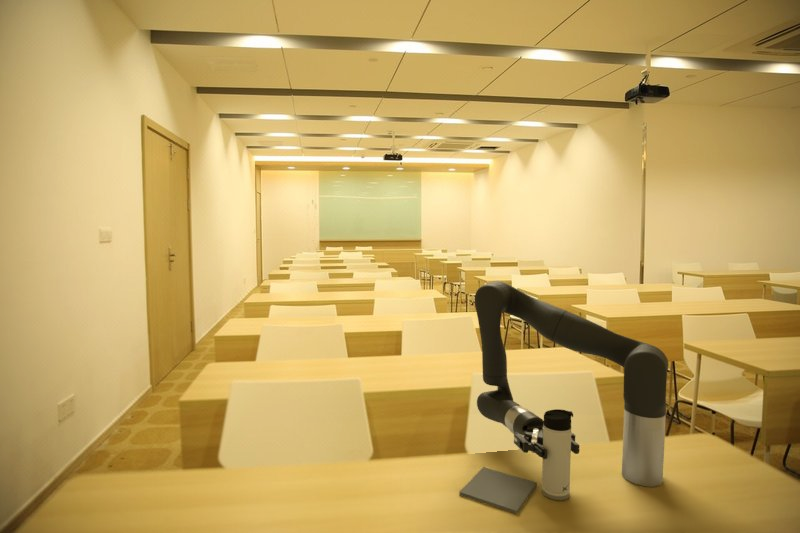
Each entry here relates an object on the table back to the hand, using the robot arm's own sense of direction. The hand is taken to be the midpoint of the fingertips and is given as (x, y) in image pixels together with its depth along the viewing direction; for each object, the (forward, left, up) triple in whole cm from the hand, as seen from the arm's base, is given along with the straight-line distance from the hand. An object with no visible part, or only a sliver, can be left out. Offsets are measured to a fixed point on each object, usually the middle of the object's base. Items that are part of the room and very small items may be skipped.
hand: (562, 452), depth 112 cm
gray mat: (+5, -13, -11) cm, 18 cm away
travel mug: (-1, -1, -11) cm, 11 cm away
